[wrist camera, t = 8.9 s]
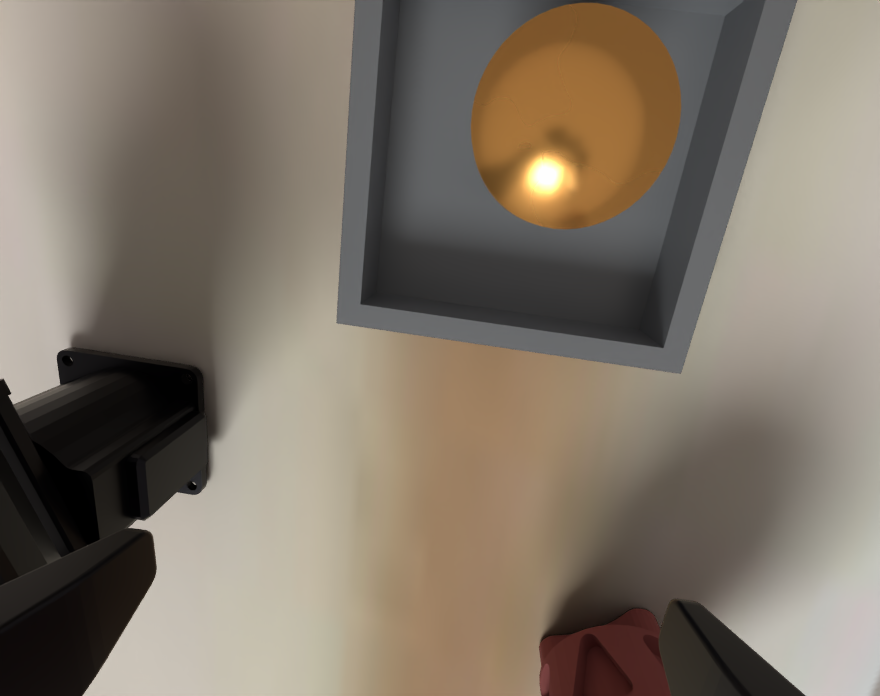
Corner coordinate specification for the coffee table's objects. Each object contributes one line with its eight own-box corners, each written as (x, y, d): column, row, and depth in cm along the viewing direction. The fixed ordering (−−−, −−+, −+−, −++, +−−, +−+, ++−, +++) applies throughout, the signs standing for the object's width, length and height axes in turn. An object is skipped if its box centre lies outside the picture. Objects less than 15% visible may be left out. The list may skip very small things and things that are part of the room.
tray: (358, 305, 19) (336, 323, 16) (383, -43, 15) (361, -102, 12) (649, 348, 18) (680, 373, 15) (748, -3, 14) (814, -55, 12)
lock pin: (471, 211, 17) (458, 216, 8) (485, 110, 16) (487, -9, 7) (563, 224, 16) (649, 241, 8) (583, 122, 15) (708, 15, 7)
